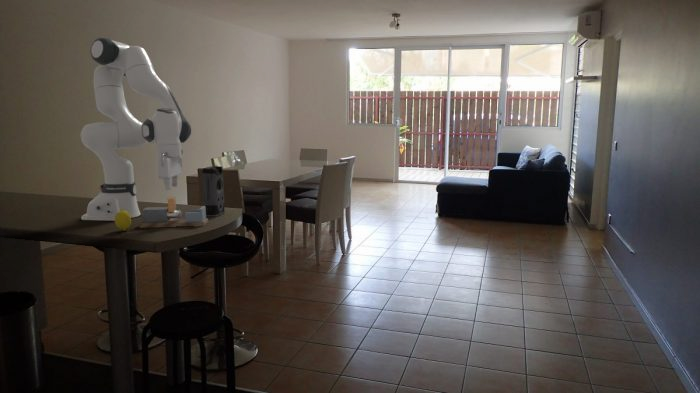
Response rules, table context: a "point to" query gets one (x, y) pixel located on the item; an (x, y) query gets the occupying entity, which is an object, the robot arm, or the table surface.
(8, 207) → the table surface
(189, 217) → the socket block
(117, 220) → the lemon
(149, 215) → the outer sleeve
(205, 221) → the bench board
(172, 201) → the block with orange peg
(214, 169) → the electronic device
